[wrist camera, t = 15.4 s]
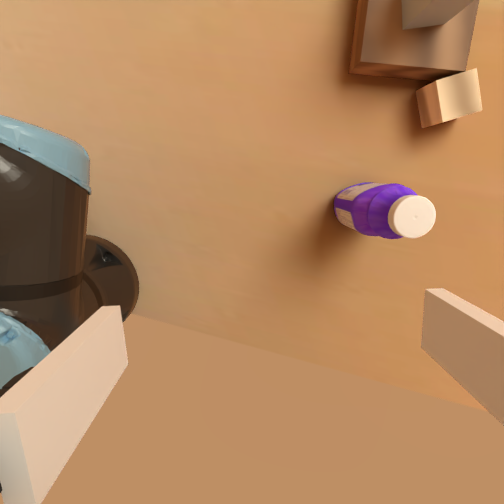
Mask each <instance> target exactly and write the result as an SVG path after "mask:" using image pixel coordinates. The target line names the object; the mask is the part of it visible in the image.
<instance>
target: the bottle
mask: <svg viewBox="0 0 504 504" xmlns="http://www.w3.org/2000/svg"><path fill="white" fill-rule="evenodd" d="M334 211H335V215H336V216H337V219H338V220H339V222H340V223H342V224H343V225H345V226H347V227H349V228H352V229H354V230H356V231H358V232H360V233H362V234H364V235H368V236H381V237H383V238H387V239H398V238H402V237H406V238H418V237H421V236H423V235H425V234H426V233H427V232H428V231H429V230H430V229H431V228H432V227H433V225H434V222H435V218H436V211H435V208H434V205H433V204H432V203H431V201H429V200H428V199H427V198H425V197H422V196H417V194H416V193H415V192H414V191H413V190H411V189H410V188H407V187H405V186H403V185H400V184H381V183H360V184H356V185H353V186H350V187H348V188H346V189H344V190H342V191H340V192H339V193H338V194H337V195H336V197H335V200H334Z"/></svg>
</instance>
